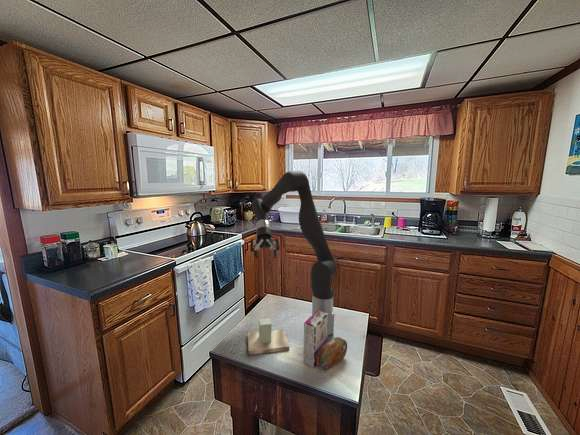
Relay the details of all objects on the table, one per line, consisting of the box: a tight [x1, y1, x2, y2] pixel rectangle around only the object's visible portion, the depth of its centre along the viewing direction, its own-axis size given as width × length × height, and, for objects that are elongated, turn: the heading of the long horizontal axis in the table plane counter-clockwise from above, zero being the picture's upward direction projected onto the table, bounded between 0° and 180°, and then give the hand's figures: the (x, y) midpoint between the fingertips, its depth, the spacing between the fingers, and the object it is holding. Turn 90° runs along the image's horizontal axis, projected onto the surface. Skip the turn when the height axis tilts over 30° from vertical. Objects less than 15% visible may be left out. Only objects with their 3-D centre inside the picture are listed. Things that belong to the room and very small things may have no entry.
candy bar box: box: [303, 310, 329, 369], centre depth 93 cm, size 11×5×16 cm, turn 147°
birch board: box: [247, 329, 290, 356], centre depth 102 cm, size 16×12×2 cm
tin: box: [316, 337, 348, 372], centre depth 91 cm, size 15×3×8 cm, turn 130°
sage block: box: [258, 317, 272, 344], centre depth 102 cm, size 4×4×8 cm
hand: (265, 258), depth 117 cm, fingers open, 8 cm apart
